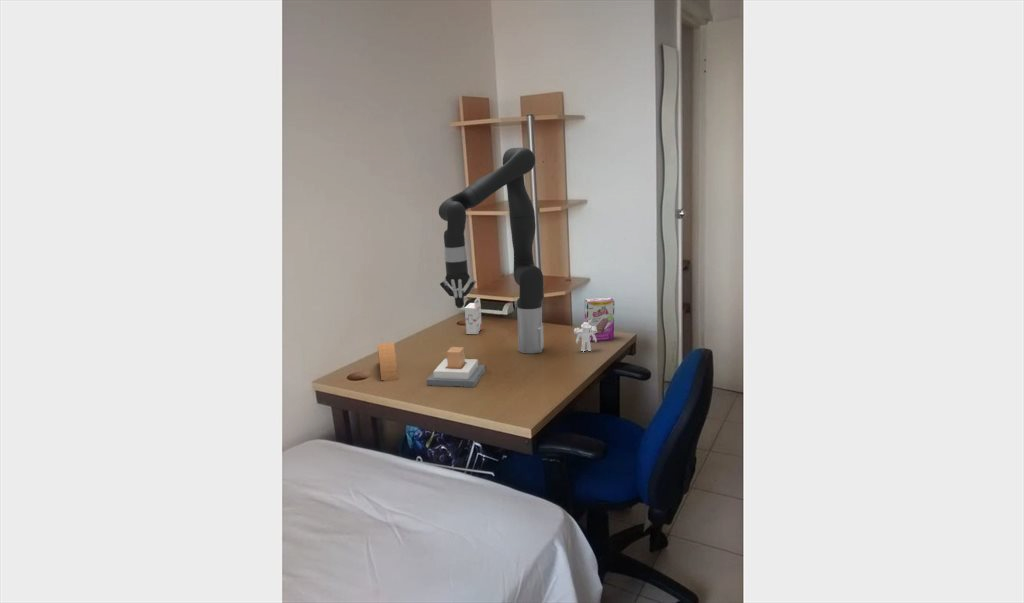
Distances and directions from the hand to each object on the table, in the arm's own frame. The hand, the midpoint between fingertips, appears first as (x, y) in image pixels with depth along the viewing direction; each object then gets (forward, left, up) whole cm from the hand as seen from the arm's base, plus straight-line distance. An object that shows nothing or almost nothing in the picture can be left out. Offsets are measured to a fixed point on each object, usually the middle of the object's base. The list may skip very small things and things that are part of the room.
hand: (459, 307), depth 225 cm
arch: (+25, +9, -22) cm, 34 cm away
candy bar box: (-46, -35, -22) cm, 62 cm away
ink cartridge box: (+7, -41, -22) cm, 47 cm away
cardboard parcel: (-2, +13, -19) cm, 23 cm away
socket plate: (-1, +13, -21) cm, 25 cm away
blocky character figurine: (-42, -20, -22) cm, 52 cm away
